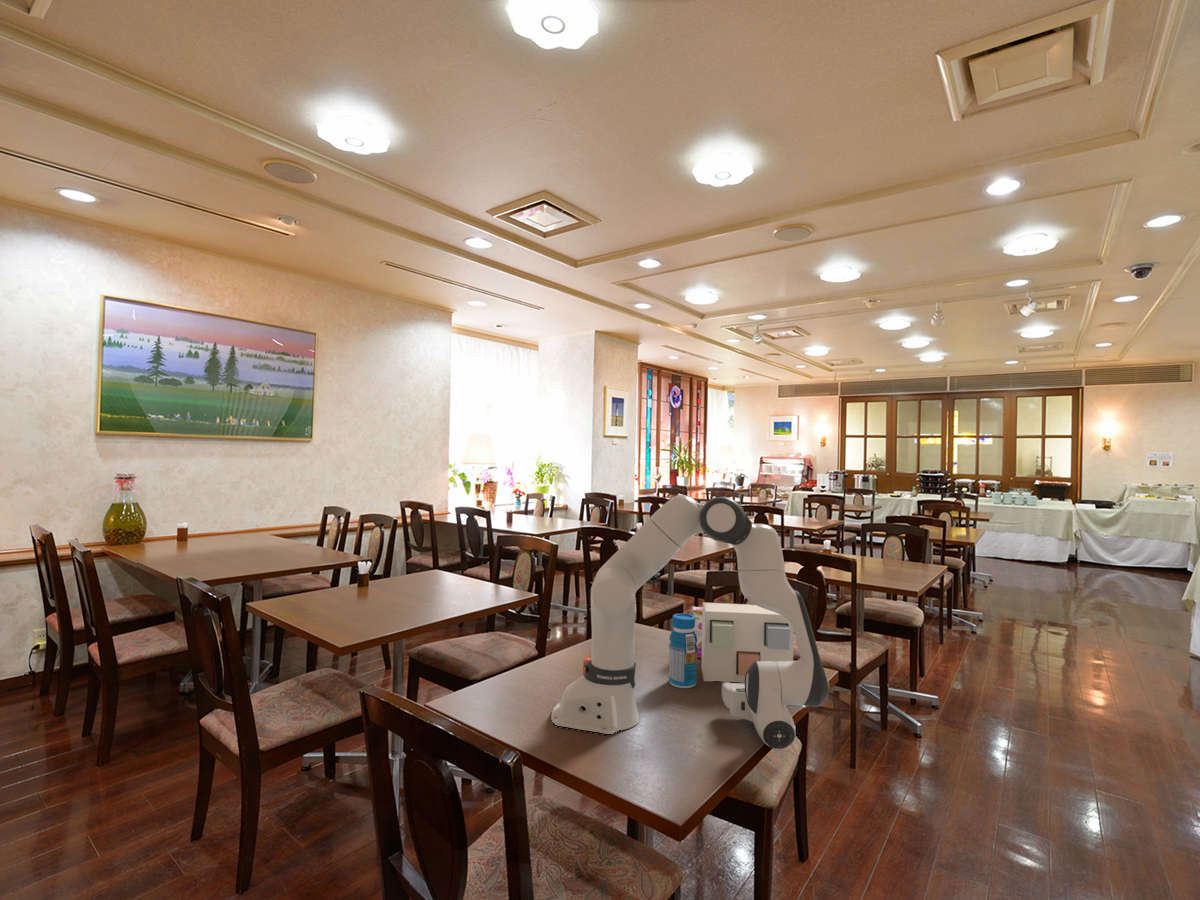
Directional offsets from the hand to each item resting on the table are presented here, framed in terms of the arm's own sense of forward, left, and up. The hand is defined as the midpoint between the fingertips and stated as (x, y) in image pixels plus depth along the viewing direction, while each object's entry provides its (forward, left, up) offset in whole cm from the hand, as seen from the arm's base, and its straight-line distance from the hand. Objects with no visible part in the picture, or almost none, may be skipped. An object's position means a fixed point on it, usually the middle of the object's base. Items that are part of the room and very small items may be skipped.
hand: (757, 683), depth 159 cm
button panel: (0, +21, -6) cm, 22 cm away
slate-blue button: (+8, +15, +6) cm, 18 cm away
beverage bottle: (-19, +13, -6) cm, 24 cm away
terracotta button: (0, +17, -3) cm, 17 cm away
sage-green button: (-8, +15, +6) cm, 18 cm away
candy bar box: (-10, +37, -6) cm, 39 cm away
